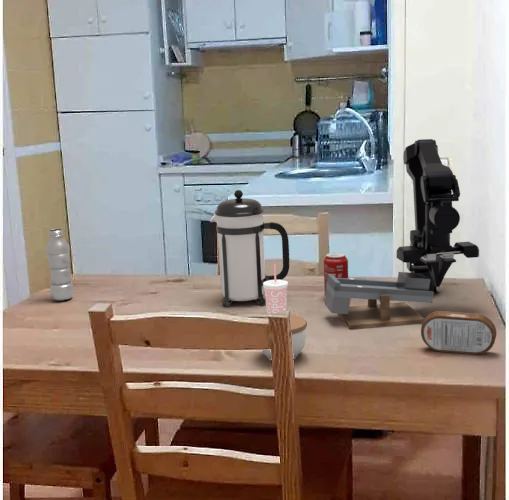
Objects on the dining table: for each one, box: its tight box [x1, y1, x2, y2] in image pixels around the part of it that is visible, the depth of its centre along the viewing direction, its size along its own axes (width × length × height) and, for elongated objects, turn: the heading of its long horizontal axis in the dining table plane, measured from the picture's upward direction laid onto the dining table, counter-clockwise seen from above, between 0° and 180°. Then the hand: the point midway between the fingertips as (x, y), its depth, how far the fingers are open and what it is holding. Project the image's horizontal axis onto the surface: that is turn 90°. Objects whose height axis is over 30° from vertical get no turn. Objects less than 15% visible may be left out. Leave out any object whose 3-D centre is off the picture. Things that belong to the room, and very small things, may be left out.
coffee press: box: [209, 189, 290, 308], centre depth 187 cm, size 17×16×30 cm
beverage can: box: [323, 252, 349, 296], centre depth 187 cm, size 6×6×12 cm
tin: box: [420, 310, 497, 355], centre depth 146 cm, size 15×3×8 cm, turn 70°
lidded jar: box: [261, 314, 308, 361], centre depth 148 cm, size 11×11×9 cm
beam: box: [324, 274, 435, 315], centre depth 170 cm, size 24×9×8 cm, turn 97°
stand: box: [337, 294, 425, 330], centre depth 170 cm, size 18×14×7 cm
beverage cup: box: [263, 262, 289, 314], centre depth 173 cm, size 6×6×14 cm
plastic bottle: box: [45, 228, 75, 301], centre depth 197 cm, size 6×7×20 cm
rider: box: [396, 271, 430, 291], centre depth 170 cm, size 6×6×4 cm
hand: (437, 286), depth 171 cm, fingers closed
